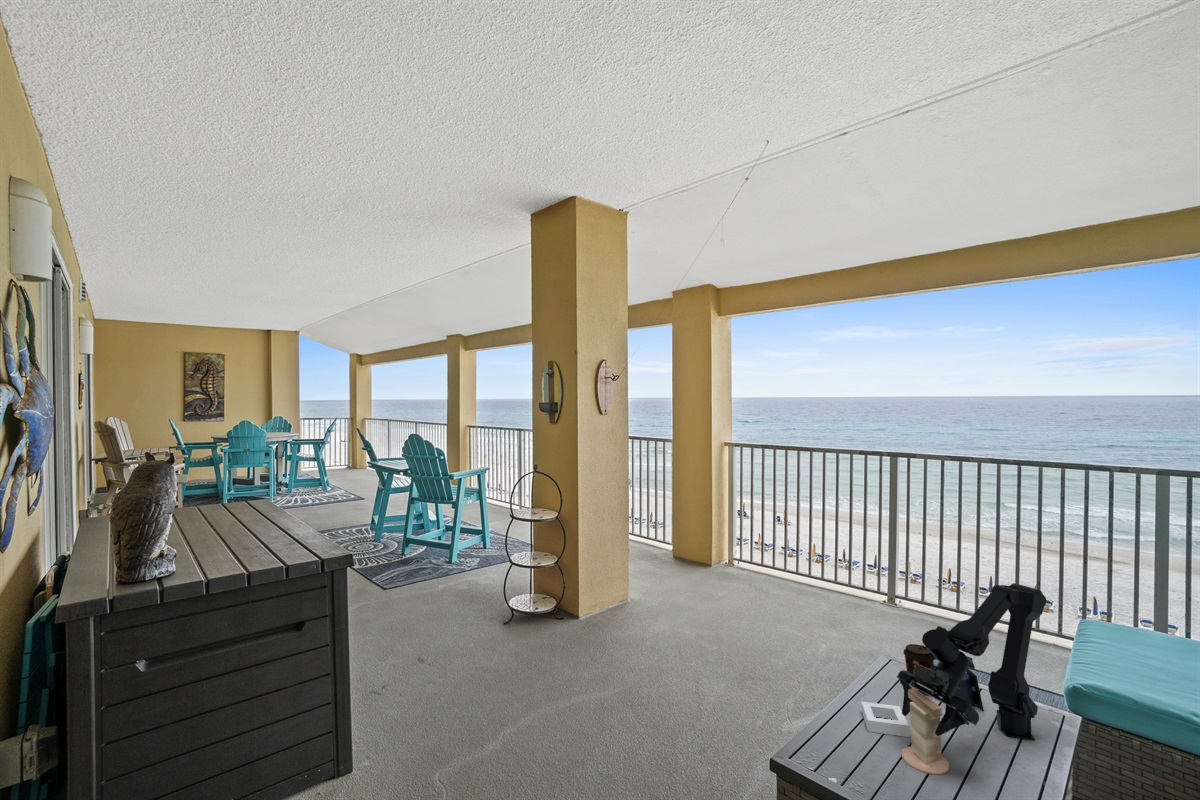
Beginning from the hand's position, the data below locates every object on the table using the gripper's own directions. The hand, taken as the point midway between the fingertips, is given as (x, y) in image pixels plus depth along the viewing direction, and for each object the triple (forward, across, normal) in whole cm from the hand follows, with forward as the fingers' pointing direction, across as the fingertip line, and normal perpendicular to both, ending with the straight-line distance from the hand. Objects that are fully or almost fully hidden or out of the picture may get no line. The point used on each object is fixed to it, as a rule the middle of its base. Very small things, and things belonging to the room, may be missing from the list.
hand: (919, 724), depth 132 cm
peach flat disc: (+6, 0, +8) cm, 9 cm away
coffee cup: (-15, -26, +29) cm, 41 cm away
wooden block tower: (+4, 0, +8) cm, 9 cm away
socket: (+3, -16, +10) cm, 19 cm away
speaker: (-18, -15, +32) cm, 40 cm away
